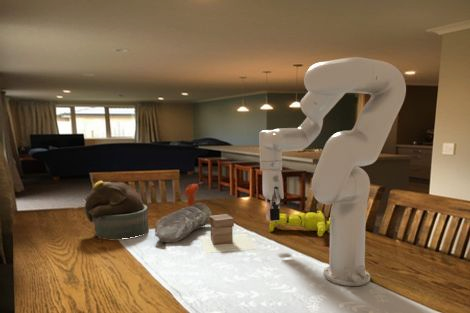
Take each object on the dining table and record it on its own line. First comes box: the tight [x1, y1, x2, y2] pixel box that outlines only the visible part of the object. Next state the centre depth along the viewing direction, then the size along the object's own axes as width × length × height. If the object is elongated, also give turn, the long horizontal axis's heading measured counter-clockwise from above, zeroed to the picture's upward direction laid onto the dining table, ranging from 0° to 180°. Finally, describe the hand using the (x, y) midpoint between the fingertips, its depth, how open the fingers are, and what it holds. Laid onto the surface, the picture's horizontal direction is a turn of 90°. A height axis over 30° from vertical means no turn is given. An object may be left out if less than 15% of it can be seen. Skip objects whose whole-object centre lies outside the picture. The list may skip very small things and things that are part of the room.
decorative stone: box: [154, 202, 213, 244], centre depth 147 cm, size 32×15×10 cm, turn 161°
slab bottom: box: [210, 232, 234, 245], centre depth 134 cm, size 7×7×3 cm
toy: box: [269, 210, 330, 237], centre depth 149 cm, size 30×9×30 cm
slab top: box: [208, 213, 235, 229], centre depth 134 cm, size 7×7×3 cm
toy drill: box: [184, 181, 203, 207], centre depth 184 cm, size 5×19×15 cm, turn 162°
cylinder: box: [265, 201, 279, 222], centre depth 127 cm, size 4×4×6 cm
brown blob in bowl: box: [84, 180, 150, 239], centre depth 148 cm, size 23×25×22 cm
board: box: [200, 233, 259, 254], centre depth 133 cm, size 18×18×1 cm
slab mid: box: [210, 225, 234, 237], centre depth 134 cm, size 7×7×3 cm
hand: (272, 218), depth 127 cm, fingers closed on cylinder, 4 cm apart
